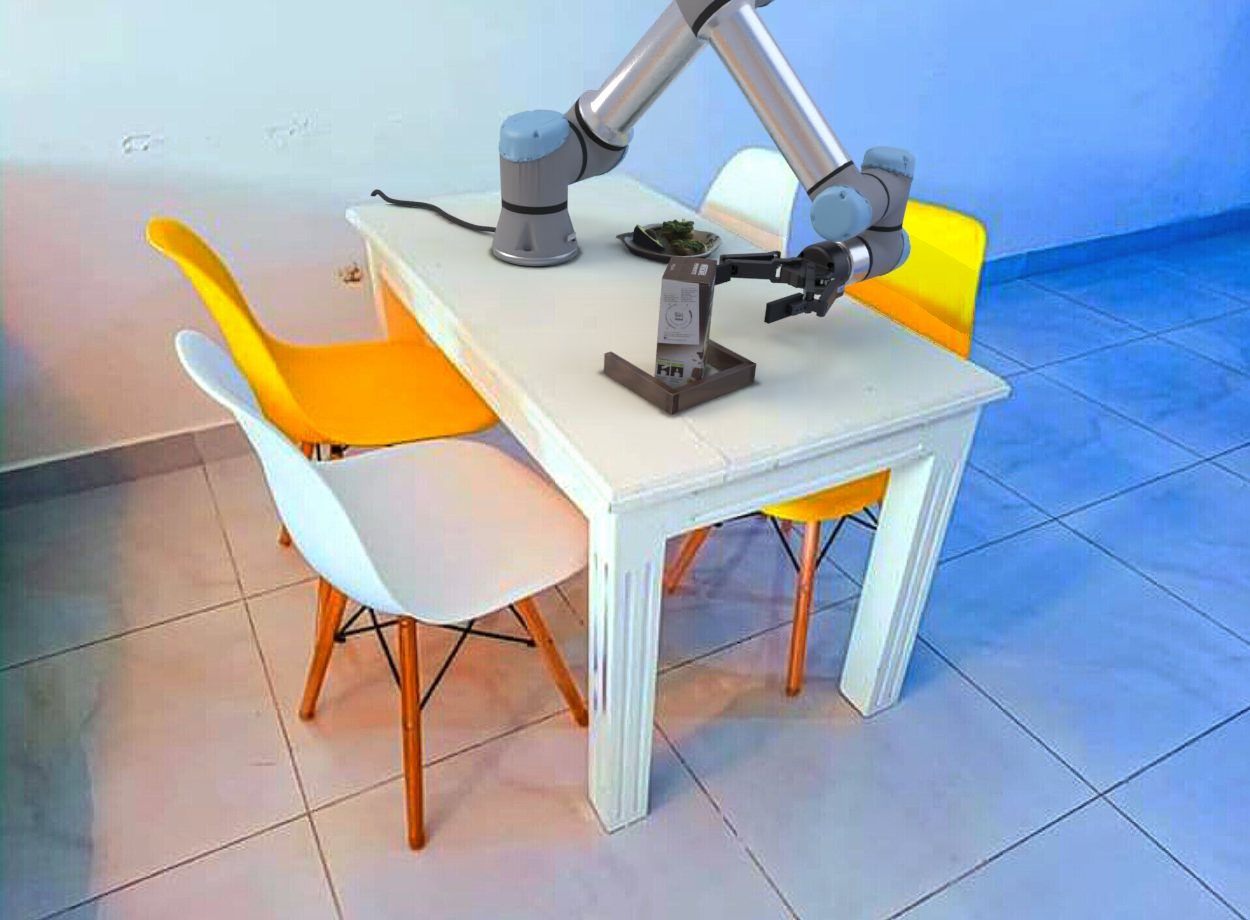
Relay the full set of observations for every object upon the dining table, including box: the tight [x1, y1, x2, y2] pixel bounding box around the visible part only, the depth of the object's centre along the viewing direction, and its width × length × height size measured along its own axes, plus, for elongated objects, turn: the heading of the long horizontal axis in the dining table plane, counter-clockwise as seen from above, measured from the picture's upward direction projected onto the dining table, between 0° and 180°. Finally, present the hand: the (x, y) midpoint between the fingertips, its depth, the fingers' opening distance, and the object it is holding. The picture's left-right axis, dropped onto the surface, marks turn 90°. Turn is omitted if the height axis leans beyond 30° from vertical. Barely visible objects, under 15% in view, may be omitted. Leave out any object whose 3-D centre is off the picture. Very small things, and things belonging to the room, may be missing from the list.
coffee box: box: [653, 256, 718, 389], centre depth 122 cm, size 9×6×16 cm
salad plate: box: [615, 218, 723, 265], centre depth 170 cm, size 19×18×5 cm
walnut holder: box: [603, 338, 757, 416], centre depth 126 cm, size 14×15×3 cm
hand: (730, 296), depth 125 cm, fingers open, 13 cm apart
